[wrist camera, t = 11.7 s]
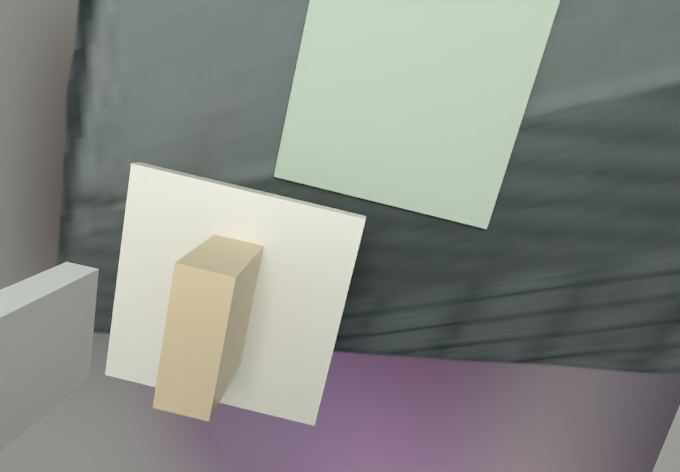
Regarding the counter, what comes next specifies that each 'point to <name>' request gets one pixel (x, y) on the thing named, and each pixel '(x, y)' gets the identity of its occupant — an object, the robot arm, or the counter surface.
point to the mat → (413, 100)
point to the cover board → (280, 291)
